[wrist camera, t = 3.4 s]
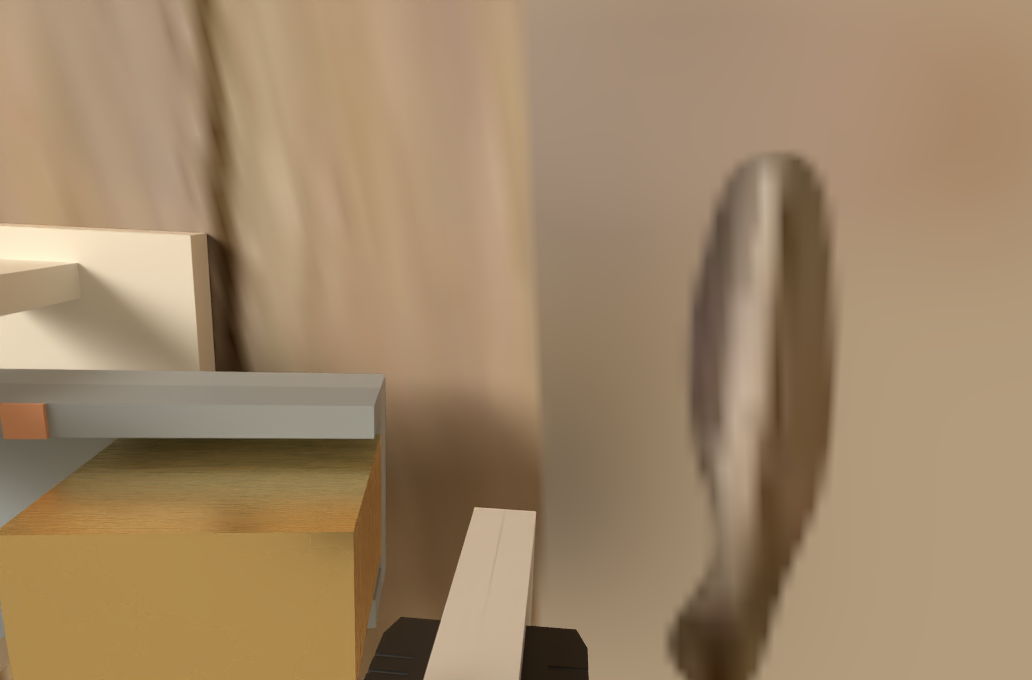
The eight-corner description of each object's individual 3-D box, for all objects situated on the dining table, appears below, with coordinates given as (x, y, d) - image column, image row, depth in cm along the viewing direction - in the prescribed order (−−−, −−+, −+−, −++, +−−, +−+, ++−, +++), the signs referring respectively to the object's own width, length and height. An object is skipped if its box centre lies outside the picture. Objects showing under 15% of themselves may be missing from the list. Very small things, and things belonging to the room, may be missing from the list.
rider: (124, 433, 18) (-10, 535, 13) (381, 434, 19) (353, 532, 14) (136, 556, 19) (15, 699, 14) (381, 552, 20) (355, 688, 15)
